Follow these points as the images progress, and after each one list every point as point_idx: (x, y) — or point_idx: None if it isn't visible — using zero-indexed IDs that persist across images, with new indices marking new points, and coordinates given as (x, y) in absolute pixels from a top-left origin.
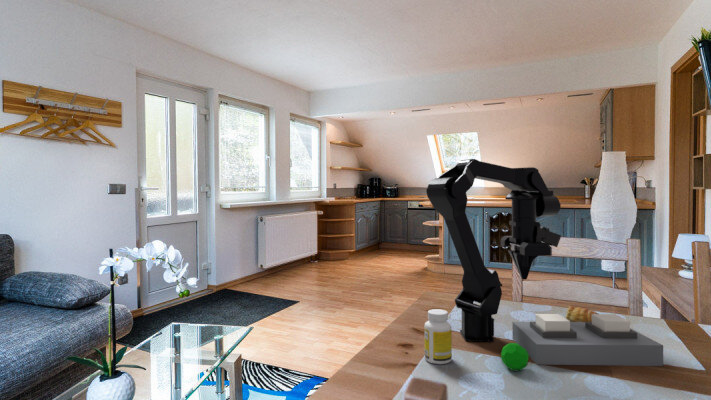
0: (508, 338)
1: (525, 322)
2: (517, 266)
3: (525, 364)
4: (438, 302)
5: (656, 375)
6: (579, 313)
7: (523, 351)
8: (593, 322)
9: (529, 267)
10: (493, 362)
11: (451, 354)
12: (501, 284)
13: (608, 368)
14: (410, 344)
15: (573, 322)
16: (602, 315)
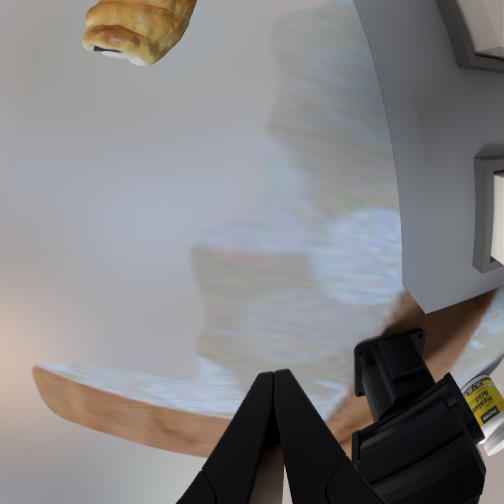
0: (397, 294)
1: (434, 274)
2: (281, 502)
3: None
4: (112, 417)
5: None
6: (163, 9)
7: None
8: (489, 51)
9: (347, 458)
10: (501, 319)
11: (487, 380)
12: (467, 440)
13: None
14: None
15: (415, 82)
16: (500, 18)
